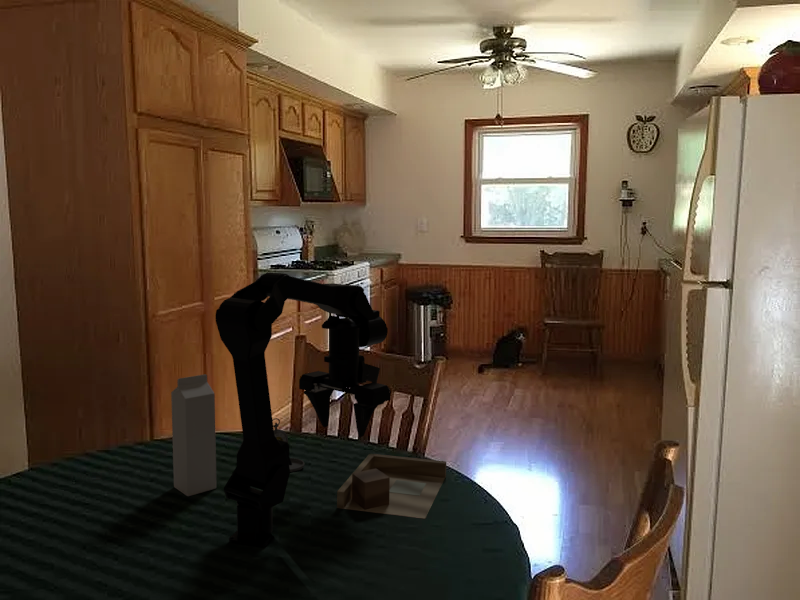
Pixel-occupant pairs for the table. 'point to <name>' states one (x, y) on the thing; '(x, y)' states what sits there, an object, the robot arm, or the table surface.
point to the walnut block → (370, 488)
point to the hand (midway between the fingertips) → (342, 431)
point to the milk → (193, 435)
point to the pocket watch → (281, 435)
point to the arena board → (400, 485)
